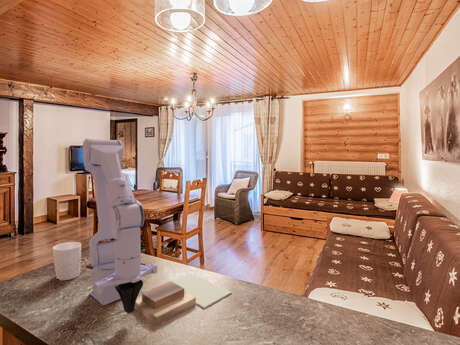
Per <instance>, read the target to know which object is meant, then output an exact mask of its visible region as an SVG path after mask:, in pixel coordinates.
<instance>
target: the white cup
mask: <svg viewBox="0 0 460 345" xmlns="http://www.w3.org/2000/svg"><path fill="white" fill-rule="evenodd" d="M52 256H53V266H54V271H55V279H56V280H57V279H59V280H58V281H68V280H69V281H70V280H73V279H75V278H77V277H79V276H80V274H81V264H82V262H81V261H82V243H81V242H79V241H68V242H62V243H58V244H55V245H53V246H52Z"/></svg>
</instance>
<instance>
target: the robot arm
mask: <svg viewBox="0 0 460 345" xmlns="http://www.w3.org/2000/svg"><path fill="white" fill-rule="evenodd" d="M124 148H125V147H124V144H123V142H122V141H121V140H120V139H91V138H84V140H83V141H82V159H83V167H84V169H85V171H86V172H89V173H91V177H92V179H93V186H94V195H95V203H96V212H97V213H96V214H97V221H98V231H97V232H96V233H95V234H94V235H92V237H91V238H90V240H89V241H88V243H89V251H88V252H89V253H88V254H89V262H90V264H91V265H92V266H93V269H92V271H91V276H92V278H91V280H92V290H90V291H88V293H89V295H90V296H92V297H93V298H94V299H95V300H96V301H98V302H99V303H100V304H101V305H102V306H106V305H108V304H111V303H114V302H116V301H118V300H121V303H122V307H123V311H124V312H125V313H126V314H128V315H129V314H131V313H134V310H135V309H134V307H135V303H136V299H137V297H138V295H140V293H141V290H142V288H143V286H144V280H142V279H141V278H143V277H146V276H148V275H151V274H152V275H153V274H154V275H155V274H157V273H158V265H157V264H156V263H153V262H152V263H149V264H145V265H144V266H141V263H142V261H141V260H142V259H141V258H142V255H141V253H142V252H141V250H142V249H141V228H142V227H143V226H144V223H145V212H144V207H143V205H142V203H141V202H140V201H139V200H138V199H135V198H136V197H135V196H134V193H133V190H132V187H131V184H130V182H129V180H127V179H126V178H125V179H124V176H123V172H122V167H121V163H122V160H123V158H124V154H125V153H124V152H125V149H124ZM102 241H103V242H102Z"/></svg>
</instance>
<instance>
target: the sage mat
mask: <svg viewBox="0 0 460 345" xmlns="http://www.w3.org/2000/svg"><path fill="white" fill-rule="evenodd" d="M171 282H173V283H175V284H177V285H179V286H181V287H183V288H184V291H185V292H187V293H189V294H190V295H192V296H194V297H196V305H197V306H198V307H199V308H202V309H206V308H208V307H210V306H212V305H214V304H215V303H217V302H219V301H220V300H221V301H222V300H223V299H225V298H226V297H228V296H230V295H232V291H230V290H228V289H226V288H223V287H222V286H219V285H217V284H215V283H213V282H211V281H208V280H207V279H204V278H202V277H201V276H198V275H196V274H193V273H191V272H190V273H188V274H185V275H183V276H181V277H179V278H175V279H173V280H171Z"/></svg>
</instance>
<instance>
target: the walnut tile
mask: <svg viewBox="0 0 460 345" xmlns="http://www.w3.org/2000/svg"><path fill="white" fill-rule="evenodd" d="M171 281H172V280H171ZM171 281H170V280H169V282H166V283H163V284H161V285H158V286H155V287H154V288H151V289H148V290H146V291H144V292H142V293H141V294H142V301H143V302H145V303H146V304H148V305H149V306H150V307H152V308H153V309H157V308H160V307H162V306H164V305H166V304H168V303H170V302H172V301H174V300H176V299H178V298H180V297H182V296H184V288H183V287H181V286H179V285H177V284H175V283H173V282H171Z"/></svg>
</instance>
